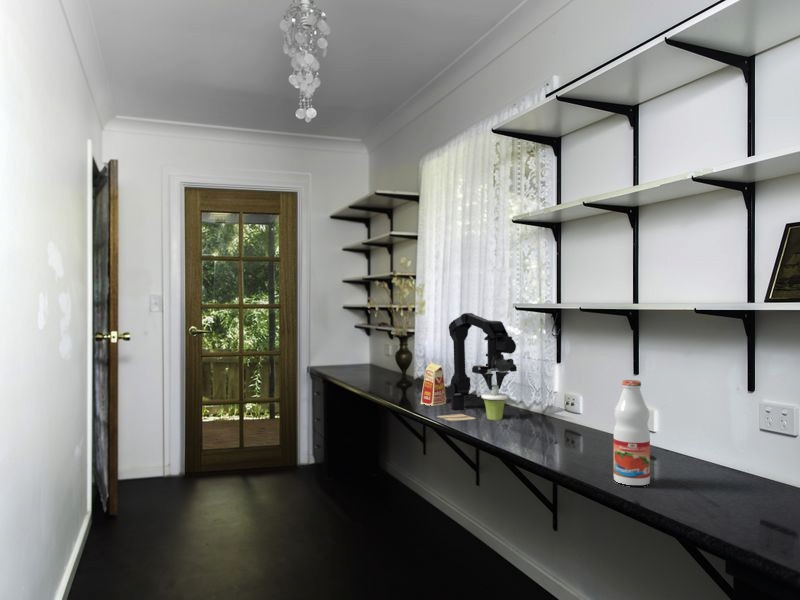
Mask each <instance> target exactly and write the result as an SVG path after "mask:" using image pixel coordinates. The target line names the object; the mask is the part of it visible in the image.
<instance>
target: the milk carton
mask: <svg viewBox="0 0 800 600" xmlns="http://www.w3.org/2000/svg"><path fill="white" fill-rule="evenodd" d="M442 367H443V365H440V364H436V363H435V362H433V361H429V364H428V366H427V367H426V368H425V373H424V379H423V385H422V391H421V398H420V405H423V404H425V406H430V405H431V406H430V407H434V406H435V407H436V406H443V405H445V404H447V397H446V396H447V395H446V386H445V385H446V384H445V378H444V370H443V368H442Z"/></svg>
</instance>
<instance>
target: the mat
mask: <svg viewBox="0 0 800 600" xmlns="http://www.w3.org/2000/svg"><path fill="white" fill-rule="evenodd" d="M436 417H437V418H441V419H443V420H445V421H448V422H456V421H457V422H458V421H459V422H460V421H468V420H475V419H477V417H472V416H470V415H466V414H463V413H456V414H455V413H452V414H446V415H445V414H444V415H437V416H436Z"/></svg>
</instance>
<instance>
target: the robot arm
mask: <svg viewBox="0 0 800 600" xmlns="http://www.w3.org/2000/svg"><path fill="white" fill-rule="evenodd" d="M472 326H474V327H476V328H479V329H481V330H482V332H483V333H485V335H486V336H485V337H484V341H487V353H485V357H487V363H485V365H481V364H479V365H478V364H477V365H473V366H472V368H471V373H474V374H477V375H481V376H482V378H483V380H484V381H485V383H486V386H487V388H488V389H489V391H491V389H492V385H493V384H492V382H493V381H492V379H493V376H494V373H492V372H495V376H496V377H495V379H496V385H499V390H500V389H501V386H502V384H503V382H504V379H505V377H506V376H507V375H509V374H510V373H512V372H513V373H514V372H517V371H518V369H517V365H516V364H515V363H514V359H513V358H507V359H505V358H504V354H509V355H510V354H513V353H515V351H516V350H517V349H516V348H517V344H516V342H515V340H514V339H513V336H511V335H510V336H509V333H508V331H507V330H506V327H505V326H504V322H503V321H499V320H490V319H487V318H484V317H483V316H482V317H481V316H479V315H476V314H474V313H473V312H466V313H465V312H464V313H462V314H461V315H459V317H456V318H455V319H454V320H452V321H450V324H448V332H449V336H450V338H451V340H452V341H453V367H454V368H453V370H454V371H453V372H454V374H453V375H452V377H451V378H450V385H449V387H448V388H447V390H445V393H446V396H447V397H450V407H448V409H450V410H453V411H463V410H467V408H466V407H465V405H466V403H465V397H468V396H469V394H470V390H471V377H469V376H468V375H467V373H466V350H465V349H466V348H465V347H466V345H465V344H466V343H465V341H466V340H467V337H468V335H469V330H470V328H472Z"/></svg>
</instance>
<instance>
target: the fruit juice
mask: <svg viewBox="0 0 800 600" xmlns="http://www.w3.org/2000/svg"><path fill="white" fill-rule="evenodd" d="M621 387H622V391H621V394H620V398H619V400H618V401H617V404H616V405H615V407H614V409H613V410H614V411H613V414H614V415H613V416H614V420H615V424H614V427H613V481H614V480H615V481H616V482H618V483H622V484H626V485H646V484H650V482H651V481H650V480H651V435H650V433H651V432H650V429H649V426H648V424H649V423H648V422H649V420H650V411H649V408H648V406H647V405H646V403H645V400H644V398H643V394H642V392H641V388H642V382H641V381H640V380H634V379H624V380H622V381H621ZM615 481H614V482H615ZM616 482H615V483H616ZM618 483H617V484H618Z"/></svg>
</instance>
